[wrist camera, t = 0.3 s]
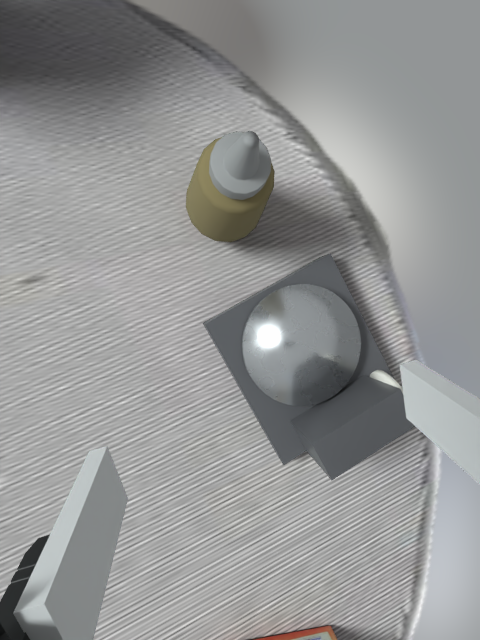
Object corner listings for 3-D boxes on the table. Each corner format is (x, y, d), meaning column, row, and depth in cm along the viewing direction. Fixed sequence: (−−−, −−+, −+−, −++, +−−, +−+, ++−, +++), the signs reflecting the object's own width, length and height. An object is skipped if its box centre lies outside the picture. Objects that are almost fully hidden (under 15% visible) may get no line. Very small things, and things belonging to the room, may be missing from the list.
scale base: (202, 323, 41) (209, 328, 31) (320, 257, 43) (361, 242, 33) (280, 461, 43) (309, 506, 33) (389, 392, 45) (447, 416, 35)
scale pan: (219, 321, 38) (220, 322, 37) (323, 263, 39) (326, 262, 38) (277, 425, 39) (280, 428, 38) (375, 365, 41) (380, 366, 40)
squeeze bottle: (246, 255, 42) (293, 218, 24) (177, 237, 40) (173, 182, 23) (263, 187, 42) (322, 100, 24) (194, 166, 40) (203, 57, 23)
